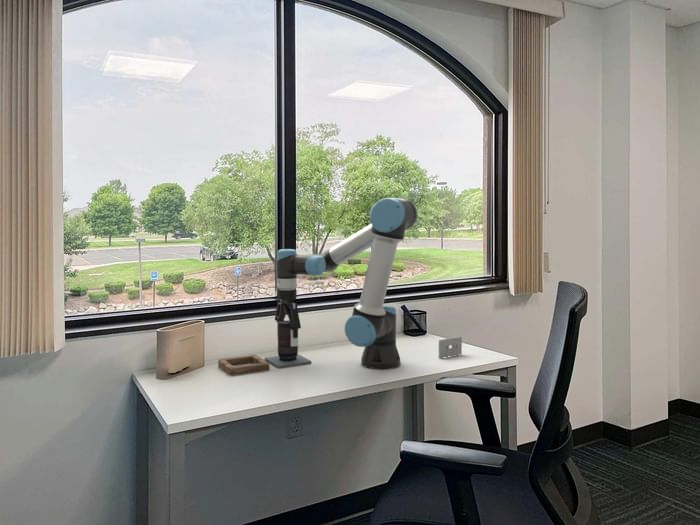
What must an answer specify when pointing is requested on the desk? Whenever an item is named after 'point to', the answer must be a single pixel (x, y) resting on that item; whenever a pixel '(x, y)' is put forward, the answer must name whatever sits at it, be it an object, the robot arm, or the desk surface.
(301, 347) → the desk surface
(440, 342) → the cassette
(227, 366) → the brown flat square frame
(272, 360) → the mat
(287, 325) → the camera lens
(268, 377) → the desk surface
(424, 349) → the desk surface
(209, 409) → the desk surface
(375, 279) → the robot arm
